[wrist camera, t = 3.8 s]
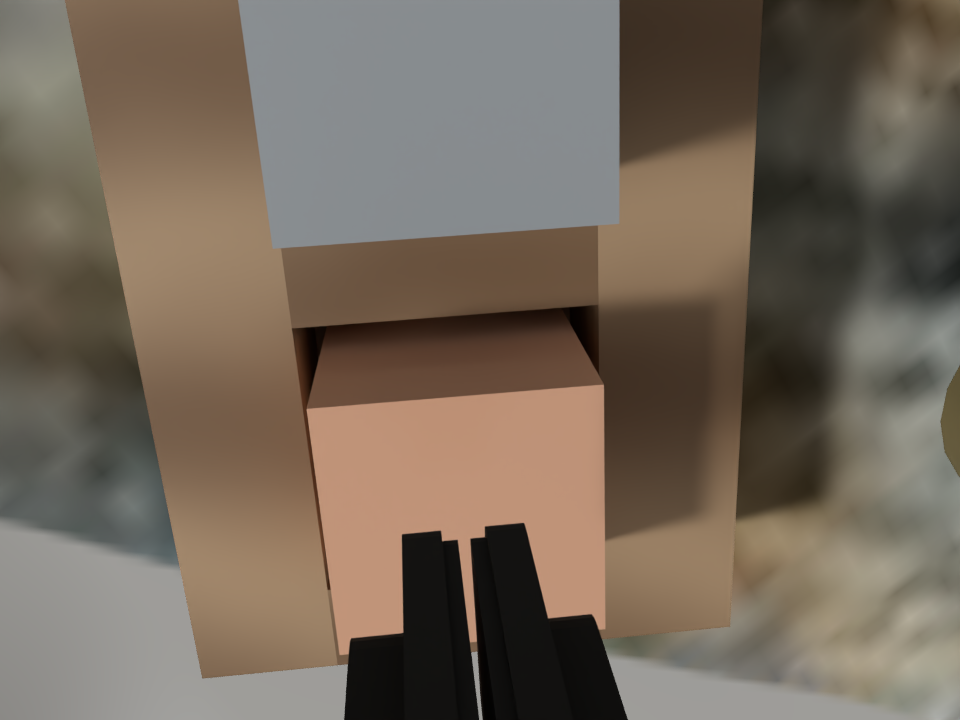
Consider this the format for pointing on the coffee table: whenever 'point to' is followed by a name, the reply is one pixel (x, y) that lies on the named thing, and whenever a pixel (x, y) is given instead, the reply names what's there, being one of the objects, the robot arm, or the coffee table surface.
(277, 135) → the grey cube
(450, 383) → the key terracotta
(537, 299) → the wooden slotted tray
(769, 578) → the coffee table surface
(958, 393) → the cork
